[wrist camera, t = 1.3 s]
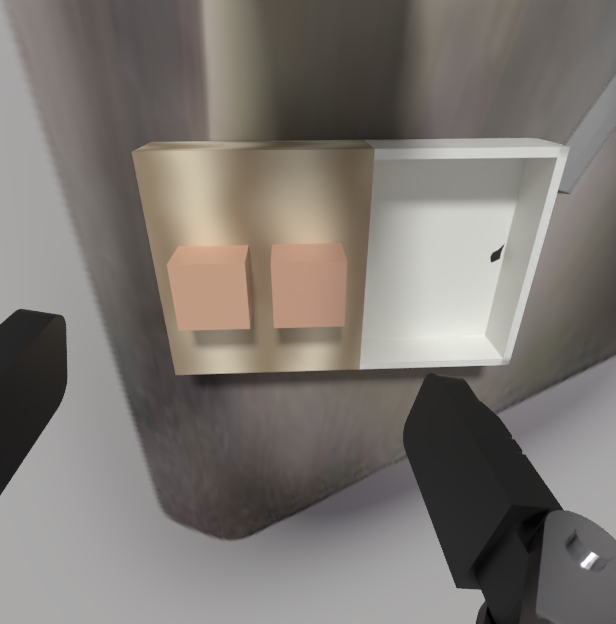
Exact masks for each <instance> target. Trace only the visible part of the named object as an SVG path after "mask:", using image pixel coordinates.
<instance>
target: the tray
mask: <svg viewBox="0 0 616 624" xmlns="http://www.w3.org/2000/svg"><path fill="white" fill-rule="evenodd" d="M365 141H366V142H367V143H368V144H370V145H371V146H372V147H373V148H374V149H375V153H374V167H373V182H372V196H371V211H370V225H369V240H368V254H367V269H366V283H365V298H364V312H363V327H362V341H361V356H360V369H389V368H422V367H454V366H487V365H509V362H510V359H511V355H512V352H513V348H514V344H515V341H516V337H517V334H518V330H519V327H520V323H521V320H522V316H523V313H524V309H525V305H526V302H527V298H528V295H529V291H530V288H531V284H532V281H533V277H534V274H535V270H536V266H537V263H538V259H539V256H540V252H541V249H542V245H543V242H544V238H545V235H546V231H547V227H548V224H549V220H550V217H551V213H552V210H553V206H554V203H555V199H556V196H557V192H558V188H559V185H560V181H561V178H562V174H563V171H564V167H565V164H566V160H567V157H568V153H569V149H570V146H566V145H562V144H558V143H554V142H550V141H546V140H542V139H538V138H477V139H383V140H365ZM503 245H504V247H503V249H502V252H501V255H500V259H498V260H496V261H495V262H491V259H490V256H491V254H492V253H493V252H495V251H497V250H499V249H500V248H501V247H502V246H503Z"/></svg>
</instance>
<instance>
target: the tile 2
mask: <svg viewBox="0 0 616 624" xmlns="http://www.w3.org/2000/svg"><path fill="white" fill-rule="evenodd" d="M346 279H347V258H346V255H345V252H344V249H343V246H342V243H324V244H273V245H272V251H271V281H272V301H273V320H274V328H303V327H340V326H344V324H345V302H346Z"/></svg>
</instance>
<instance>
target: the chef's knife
mask: <svg viewBox="0 0 616 624" xmlns="http://www.w3.org/2000/svg"><path fill="white" fill-rule="evenodd" d="M615 126H616V73H615V74H614V76H613V77H612V78H611V80H610V81H609V83H608V84H607V85H606V87H605V88H604V89H603V91H602V92H601V93H600V95H599V96H598V98H597V99H596V100H595V102H594V103H593V104H592V106H591V107H590V108H589V110H588V111H587V113H586V114H585V115H584V117H583V118H582V119H581V121H580V122H579V123H578V125H577V126H576V128H575V129H574V130H573V132H572V133H571V134H570V136H569V137H568V138H567V140H566V141H565V143H564V144H563V145H566V146H570V149H569V153H568V157H567V160H566V164H565V167H564V171H563V174H562V178H561V181H560V185H559V188H558V191H560V192H564V193H569V194H570V193H571V191H572V190H573V188H574V187H575V185H576V184H577V182H578V181H579V179H580V178H581V176H582V175H583V173H584V172H585V171H586V169H587V168H588V166H589V165H590V163H591V162H592V160H593V159H594V157H595V156H596V154H597V153H598V151H599V150H600V148H601V147H602V146H603V144H604V143H605V141H606V140H607V138H608V137H609V135H610V134H611V132H612V131H613V129H614V128H615ZM503 247H504V245H503V246H502V247H501V248H500V249H499V250H497V251H495V252H493V253H492V254H491V256H490V259H491V262H495V261H496V260H498V259H500V255H501V252H502V249H503Z"/></svg>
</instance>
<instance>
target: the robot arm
mask: <svg viewBox="0 0 616 624" xmlns="http://www.w3.org/2000/svg"><path fill="white" fill-rule="evenodd" d="M66 346H67V345H66V323H65V319H64V317H63V316H61V315H57V314H51V313H44V312H38V311H31V310H25V309H19V310H17V311H15V312H14V313H13V314H12V315H11V316H9V317H8V318H7V319H6V320H5V321H4V322H3V323H1V324H0V495H1V493H2V492H3V490H4V489H5V487H6V486H7V484H8V483H9V481H10V480H11V478H12V477H13V475H14V474H15V472H16V471H17V469H18V468H19V466H20V465H21V463H22V462H23V460H24V458H25V457H26V456H27V454H28V453H29V451H30V449H31V448H32V446H33V445H34V444H35V442H36V440H37V439H38V437H39V436H40V434H41V433H42V431H43V430H44V428H45V427H46V425H47V424H48V422H49V421H50V419H51V418H52V416H53V415H54V413H55V412H56V410H57V409H58V407H59V405H60V403H61V401H62V399H63V396H64V393H65V389H66V385H67V347H66ZM403 442H404V448H405V451H406V454H407V456H408V459H409V462H410V464H411V467H412V470H413V472H414V475H415V478H416V480H417V483H418V486H419V488H420V491H421V494H422V497H423V499H424V502H425V505H426V507H427V510H428V513H429V515H430V518H431V520H432V523H433V526H434V529H435V531H436V534H437V537H438V539H439V542H440V545H441V547H442V550H443V553H444V556H445V558H446V561H447V564H448V566H449V569H450V572H451V574H452V577H453V580H454V582H455V585H456V588H463V589H481V590H482V593H483V595H484V598H485V602H484V603H483V605H482V606H481V608H480V609H479V612H478V616H477V620H476V624H616V540H615V539H614V538H613V537H612V536H611V535H610V534H609V533H608V532H606V531H605V530H604V529H603V528H601V527H600V526H599V525H597V524H596V523H594V522H592V521H591V520H589V519H587V518H585V517H583V516H581V515H579V514H576V513H573V512H570V511H564V510H563V509H562V507H561V506H560V504H559V503H558V501H557V500H556V499H555V497H554V496H553V494H552V493H551V491H550V490H549V488H548V487H547V485H546V484H545V483H544V481H543V480H542V478H541V477H540V475H539V474H538V472H537V471H536V470H535V468H534V467H533V465H532V464H531V462H530V461H529V460H528V458H527V457H526V455H523V454H522V449H521V448H520V447H519V445H518V444H517V443H516V441H515V440H514V439H512V435H511V434H510V432H509V431H508V429H507V428H506V427H505V425H504V424H503V422H502V421H501V419H500V418H499V417H498V416H497V415H496V414H494V413H493V412H492V411H491V410H490V409H489V408H488V407H487V406H485V405H484V404H483V403H482V402H479V400H478V399H477V397H476V396H475V394H474V393H473V391H472V390H471V388H470V387H469V385H468V384H467V382H466V381H465V380H464V379H463V378H460V377H453V376H447V375H440V374H434V373H431V374H429V375H428V376H427V377H426V378H425V379H424V381H423V384H422V386H421V388H420V390H419V393H418V395H417V397H416V399H415V402H414V404H413V406H412V409H411V411H410V413H409V415H408V418H407V420H406V423H405V426H404V432H403Z"/></svg>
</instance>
